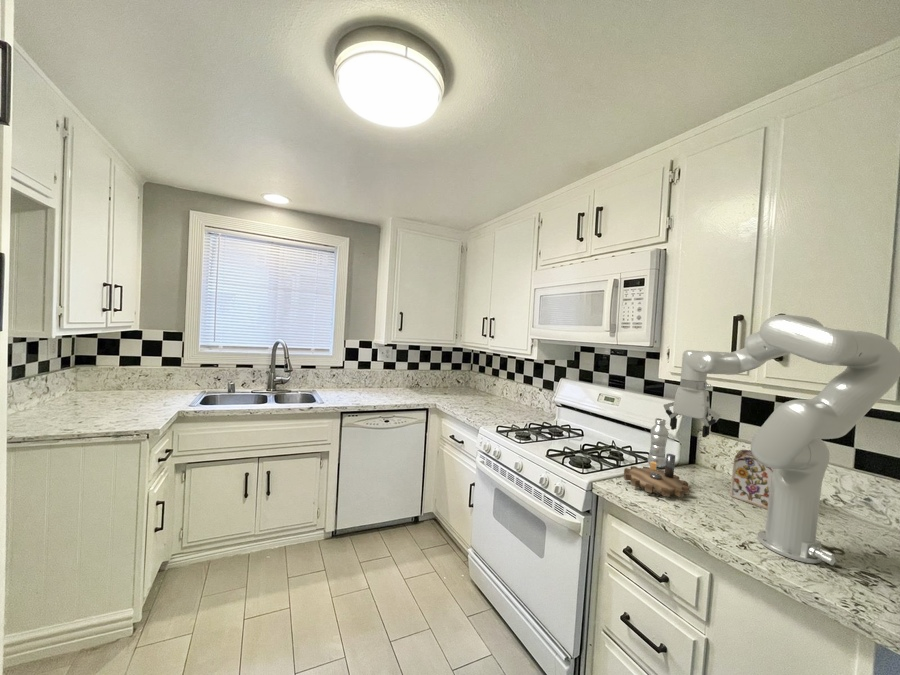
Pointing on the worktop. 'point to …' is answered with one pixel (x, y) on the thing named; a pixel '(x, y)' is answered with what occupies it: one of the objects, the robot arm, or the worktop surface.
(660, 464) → the plastic bottle
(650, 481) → the sprocket
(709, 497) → the worktop surface
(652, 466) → the timing post
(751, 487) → the decorative jar
